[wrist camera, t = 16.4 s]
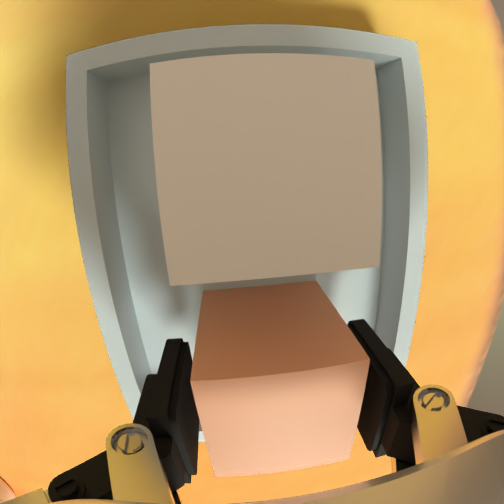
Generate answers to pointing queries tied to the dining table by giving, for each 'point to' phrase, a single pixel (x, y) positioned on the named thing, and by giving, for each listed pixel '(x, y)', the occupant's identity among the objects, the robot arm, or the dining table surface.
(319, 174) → the white block
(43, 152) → the dining table surface
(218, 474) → the terracotta block
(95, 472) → the robot arm
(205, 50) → the tray
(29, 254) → the dining table surface
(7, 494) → the teacup with lid
